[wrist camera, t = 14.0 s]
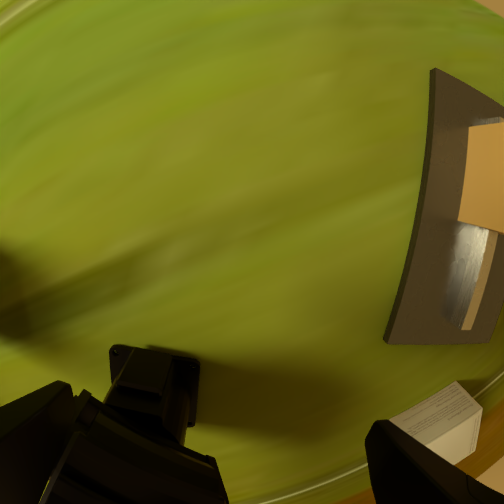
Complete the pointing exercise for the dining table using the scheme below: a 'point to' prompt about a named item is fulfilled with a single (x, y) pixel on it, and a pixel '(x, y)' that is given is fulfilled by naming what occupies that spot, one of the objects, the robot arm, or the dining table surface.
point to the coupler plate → (449, 233)
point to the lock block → (484, 178)
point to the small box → (444, 422)
